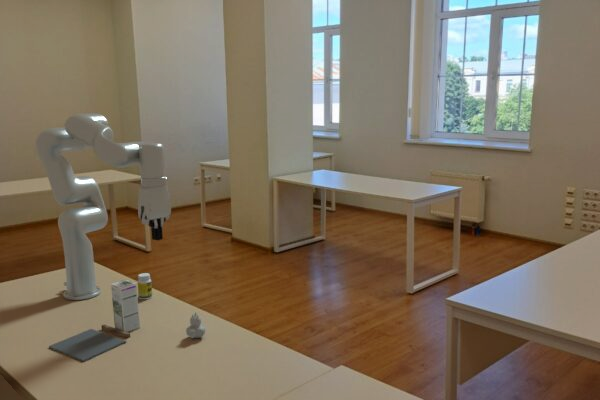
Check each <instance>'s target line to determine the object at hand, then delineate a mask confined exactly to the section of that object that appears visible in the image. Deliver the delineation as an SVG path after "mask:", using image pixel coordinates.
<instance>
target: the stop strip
mask: <svg viewBox="0 0 600 400" xmlns="http://www.w3.org/2000/svg"><path fill="white" fill-rule="evenodd" d="M101 330H103V331H106V332H109V333H111V334H114V335H117V336H120V337H123V338H126V339H129V338H131V333H130V332H125V331H122V330H119V329H116V328H115V327H113V326H109V325H107V324H102V325H101Z"/></svg>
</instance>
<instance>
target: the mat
mask: <svg viewBox="0 0 600 400" xmlns="http://www.w3.org/2000/svg"><path fill="white" fill-rule="evenodd" d="M126 343H127V340H124V339H121V338H119V337H116V336H113V335H110V334H107V333H105V332H101V331H99V330H96V329H93V328H89V329H87V330H85V331H83V332H80V333H77V334H75V335H73V336H70V337H67V338H65V339H63V340H59V341H58V342H56V343H53V344H51V345H49V346H48V349H51V350H53V349H54V350H53V351H56V352H57V353H58V352H59V353H60V354H63V355H66V356H68V357H70V358H72V359H75V360H78V361H80V362H83V363H85V362H87V361H88V360H91V359H93V358H96V357H99V356H100V355H102V354H104V353H106V352H109V351H111V350H113V349H115V348H117V347H120V346H122V345H124V344H126Z"/></svg>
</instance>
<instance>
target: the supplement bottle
mask: <svg viewBox="0 0 600 400" xmlns="http://www.w3.org/2000/svg"><path fill="white" fill-rule="evenodd" d="M152 288H153V287H152V279H151V275H150V273H148V272H145V273H140V274H139V273H138V275H137V297H138V300H149V299H152V298H153V289H152Z"/></svg>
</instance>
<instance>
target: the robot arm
mask: <svg viewBox="0 0 600 400" xmlns="http://www.w3.org/2000/svg"><path fill="white" fill-rule="evenodd" d="M114 135H115V134H114V131H113V130H112V128H111V127H110V125H109V121H108V119H107V117H105V116H104V115H102V114H101V113H97V112H96V113H95V112H94V113H90V112H89V113H75V114H72V115H70V116H68V118H67V119H66V120H65V123H64V127H63V126H62V127H53V128H46V129H44V130H42V131H41V132H39V134H38V135H37V137H36V139H35V140H36V141H35V151H36V154H37V157H38V158H39V160H40V162H41V164H42V166H43V168H44V169H45V172H46V176H47V179H48V181H49V186H50V188H51V191H52V194H53V197H54V199H55V202H56V203H57V204H58V205H59V206H63V207H67V206H74V205H78V204H82V205H83V206H78V207H73V208H70V209H67V210H64V211H63V212H62V213H60V215H59V216H58V219H57V225H58V229H59V232H60V236H61V240H62V246H63V247H62V248H63V254H64V264H65V275H66V277H65V278H66V281H64V283H63V286H65V287H66V290H65V291H64V292H63V293H62V294H63V298H64V299H66V300H69V301H70V300H71V301H80V300H81V301H82V300H88V299H91V298H94V297H97V296H98V295H100V294H101V291H102V288H101V287H99V286H97V283H96V282H97V281H96V273H95V262H94V261H95V259H94V250H93V247H94V246H93V245H92V242H91V240H90V239H89V238H88V236H87V235H86V234H89V233H92V232H95V231H99V230H102V229H103V228H104V227H106V226H107V224H108V220H109V218H108V217H109V216H108V210H107V208H106V206H105V201H104V198H103V195H102V192H101V189H100V186H99V184H98V183H97V181H96V180H95V179H94V178H93V177H91V176H89V175H80V176H76V175H75V173H74V170H73V167H72V165H71V163H70V162H69V160H68V159H67V158H66V157H65V156H64V155H62V153H65V152H66V153H67V152H74V151H76V152H77V151H83V150H86V149H87V148H89V147H90V148H93V151H94V154H95V156H96V157H97V158H98V159H99V160H100V161H101V162H103V163H105V164H108V165H109V166H112V167H114V168H117V169H118V168H120V169H121V168H127V167H135V166H139V167H140V169H139V170H140V181H141V182H140V183H141V184H140V185H141V187H139V190H138V198H137V210H138V211H137V214H138V215H137V216H138V218H139V219H140V220H141V224H142V225H147V226H149V228H150V229H151V239H152V240H154V241H161V240H163V237H164V236H163V227H164V225H165V222H166V221H167V220H169V219H170V218H171V215H172V213H171V212H172V203H171V198H170V197H171V196H170V190H169V188H168V185H167V181H168V177H166V163H165V162H166V160H165V159H166V158H165V147H164V145H163V144H162V143H160V142H159V143H158V142H146V141H130V142H129V141H128V142H121V143H120V142H119V143H117V142H114Z"/></svg>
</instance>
